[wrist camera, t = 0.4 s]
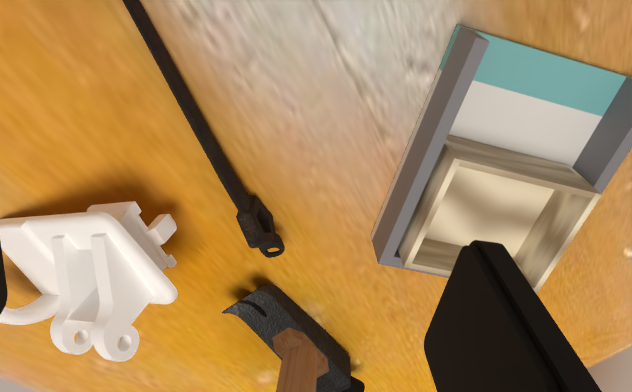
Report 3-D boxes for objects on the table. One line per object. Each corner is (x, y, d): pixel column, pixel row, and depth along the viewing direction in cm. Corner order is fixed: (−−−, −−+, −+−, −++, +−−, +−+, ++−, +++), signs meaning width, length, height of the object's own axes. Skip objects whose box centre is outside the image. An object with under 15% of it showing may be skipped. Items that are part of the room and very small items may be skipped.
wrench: (172, -60, 40) (310, 231, 53) (119, -35, 41) (267, 245, 54) (151, -59, 36) (308, 260, 48) (92, -31, 37) (261, 274, 49)
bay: (457, 24, 43) (476, 37, 39) (630, 76, 46) (666, 94, 42) (370, 235, 54) (378, 263, 50) (516, 265, 57) (535, 294, 53)
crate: (436, 131, 47) (454, 158, 42) (570, 165, 49) (601, 194, 44) (392, 233, 52) (403, 267, 47) (514, 259, 55) (536, 293, 50)
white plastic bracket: (95, 263, 60) (6, 351, 51) (35, 187, 54) (-77, 272, 45) (218, 263, 49) (136, 375, 40) (160, 170, 44) (49, 276, 35)
